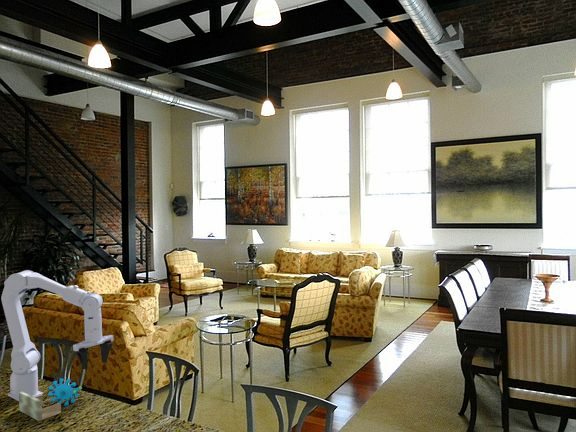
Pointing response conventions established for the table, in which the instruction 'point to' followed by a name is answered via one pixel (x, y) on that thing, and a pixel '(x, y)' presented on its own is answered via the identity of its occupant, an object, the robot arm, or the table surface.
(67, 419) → the table surface
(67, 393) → the gear
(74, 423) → the table surface
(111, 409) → the table surface
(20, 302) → the robot arm
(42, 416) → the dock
